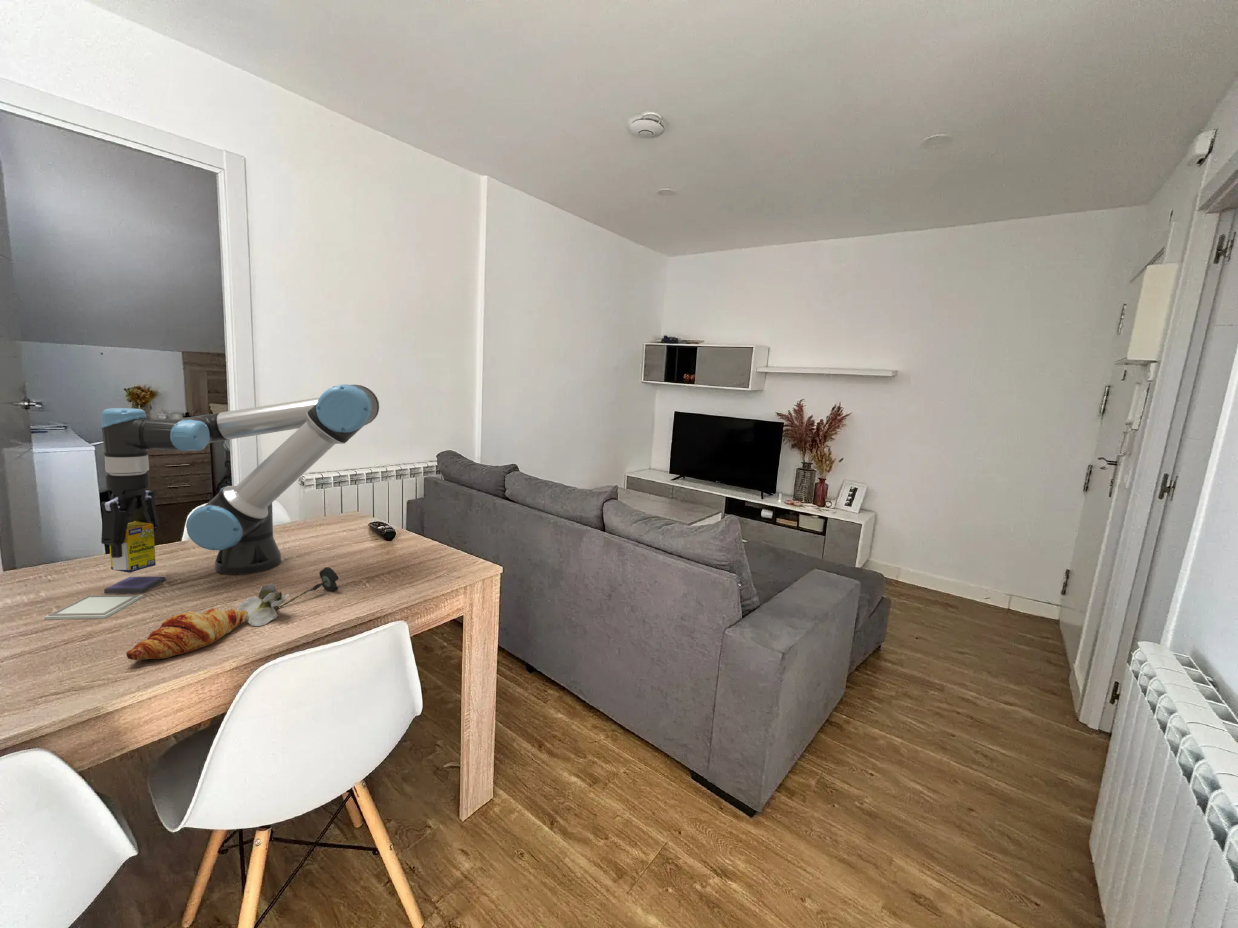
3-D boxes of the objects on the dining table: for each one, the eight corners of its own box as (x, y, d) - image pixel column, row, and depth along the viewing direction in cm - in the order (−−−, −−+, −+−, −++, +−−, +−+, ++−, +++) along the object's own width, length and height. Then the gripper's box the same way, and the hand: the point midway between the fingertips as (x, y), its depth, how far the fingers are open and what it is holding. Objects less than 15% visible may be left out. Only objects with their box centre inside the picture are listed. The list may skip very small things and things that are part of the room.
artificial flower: (346, 597, 129) (349, 565, 126) (253, 643, 110) (254, 607, 106) (323, 582, 132) (325, 550, 129) (229, 624, 113) (228, 588, 109)
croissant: (239, 631, 113) (227, 598, 113) (267, 621, 110) (254, 587, 110) (120, 679, 93) (106, 639, 93) (150, 668, 90) (135, 626, 90)
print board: (142, 597, 119) (142, 594, 119) (105, 618, 108) (105, 614, 108) (88, 597, 117) (87, 594, 117) (44, 619, 106) (44, 615, 106)
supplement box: (129, 573, 120) (126, 529, 118) (110, 569, 121) (106, 526, 120) (157, 565, 126) (154, 523, 124) (138, 562, 127) (135, 520, 125)
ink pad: (165, 580, 129) (165, 575, 129) (143, 592, 121) (142, 588, 121) (129, 580, 127) (129, 575, 127) (104, 593, 120) (103, 588, 119)
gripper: (141, 465, 129) (146, 549, 133) (71, 480, 109) (80, 578, 113) (174, 466, 131) (179, 549, 134) (112, 481, 111) (119, 578, 114)
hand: (134, 563), depth 123 cm, fingers closed on supplement box, 8 cm apart
